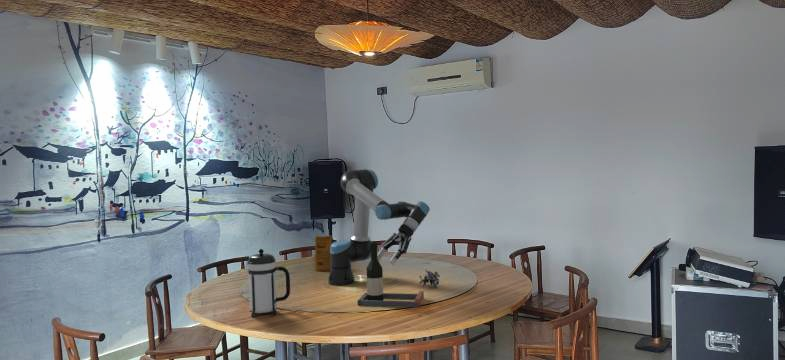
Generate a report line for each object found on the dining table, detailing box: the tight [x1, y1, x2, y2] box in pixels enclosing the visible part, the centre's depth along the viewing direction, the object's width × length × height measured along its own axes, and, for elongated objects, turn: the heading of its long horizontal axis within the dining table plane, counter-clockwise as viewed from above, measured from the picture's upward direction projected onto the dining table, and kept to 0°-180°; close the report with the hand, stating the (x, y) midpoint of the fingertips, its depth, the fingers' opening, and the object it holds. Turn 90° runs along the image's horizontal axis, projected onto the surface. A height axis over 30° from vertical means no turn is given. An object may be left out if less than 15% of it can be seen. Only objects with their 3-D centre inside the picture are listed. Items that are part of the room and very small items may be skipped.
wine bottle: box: [366, 240, 384, 301], centre depth 260 cm, size 8×8×30 cm
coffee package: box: [313, 235, 333, 272], centre depth 342 cm, size 10×12×22 cm
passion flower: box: [419, 269, 441, 289], centre depth 287 cm, size 11×11×12 cm
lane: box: [357, 290, 425, 308], centre depth 259 cm, size 30×15×4 cm, turn 79°
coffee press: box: [243, 248, 291, 318], centre depth 247 cm, size 17×16×30 cm
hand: (384, 261), depth 261 cm, fingers open, 13 cm apart
